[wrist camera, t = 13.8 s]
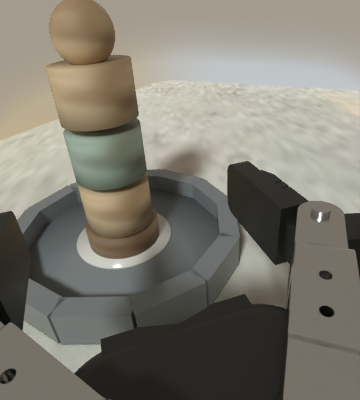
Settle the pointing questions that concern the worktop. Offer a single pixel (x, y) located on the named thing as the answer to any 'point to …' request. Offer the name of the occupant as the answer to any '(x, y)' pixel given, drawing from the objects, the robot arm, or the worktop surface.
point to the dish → (128, 263)
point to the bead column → (101, 130)
